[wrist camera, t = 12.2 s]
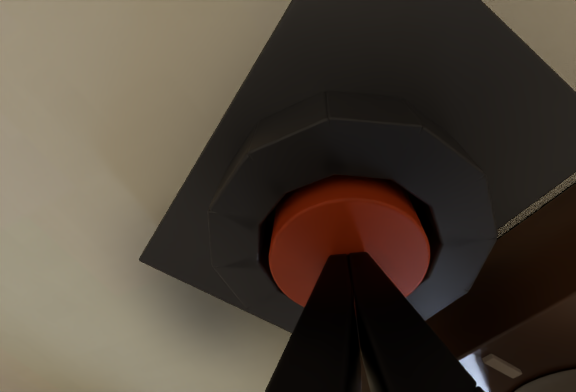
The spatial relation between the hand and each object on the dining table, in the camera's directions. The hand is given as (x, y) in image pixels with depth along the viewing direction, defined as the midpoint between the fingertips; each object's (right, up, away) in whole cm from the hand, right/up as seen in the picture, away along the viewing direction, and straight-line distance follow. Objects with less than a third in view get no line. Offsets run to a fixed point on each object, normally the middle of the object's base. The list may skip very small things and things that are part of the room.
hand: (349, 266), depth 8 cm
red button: (0, +1, +1) cm, 2 cm away
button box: (0, +2, +3) cm, 4 cm away
